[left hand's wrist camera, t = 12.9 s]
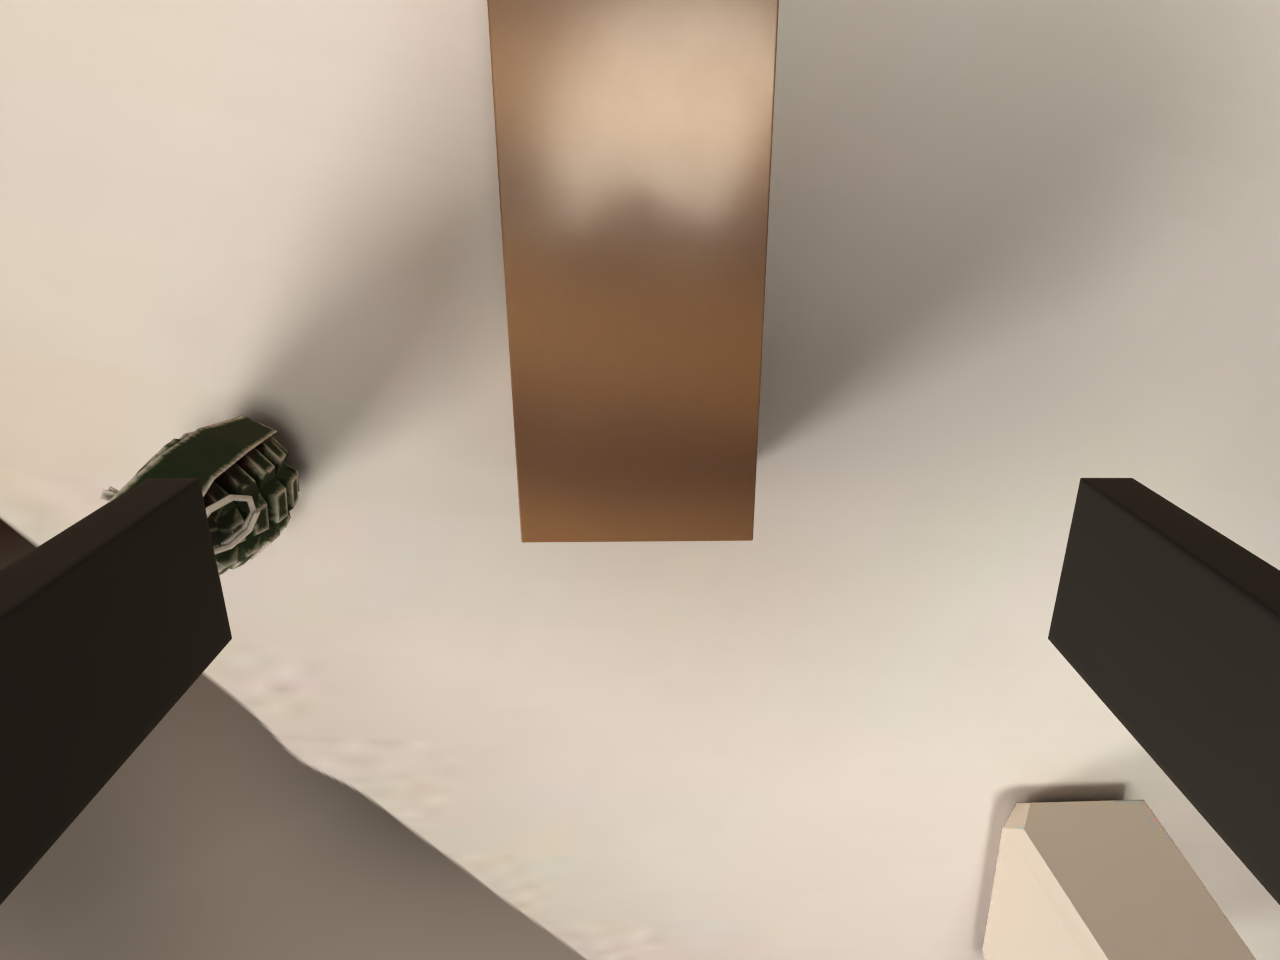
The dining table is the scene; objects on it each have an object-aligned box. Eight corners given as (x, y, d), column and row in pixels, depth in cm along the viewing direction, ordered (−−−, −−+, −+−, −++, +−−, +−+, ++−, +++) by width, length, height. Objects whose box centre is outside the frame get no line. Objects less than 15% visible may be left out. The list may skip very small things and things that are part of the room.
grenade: (291, 548, 39) (183, 668, 30) (173, 497, 38) (24, 604, 29) (339, 431, 37) (239, 520, 28) (216, 374, 36) (70, 447, 27)
